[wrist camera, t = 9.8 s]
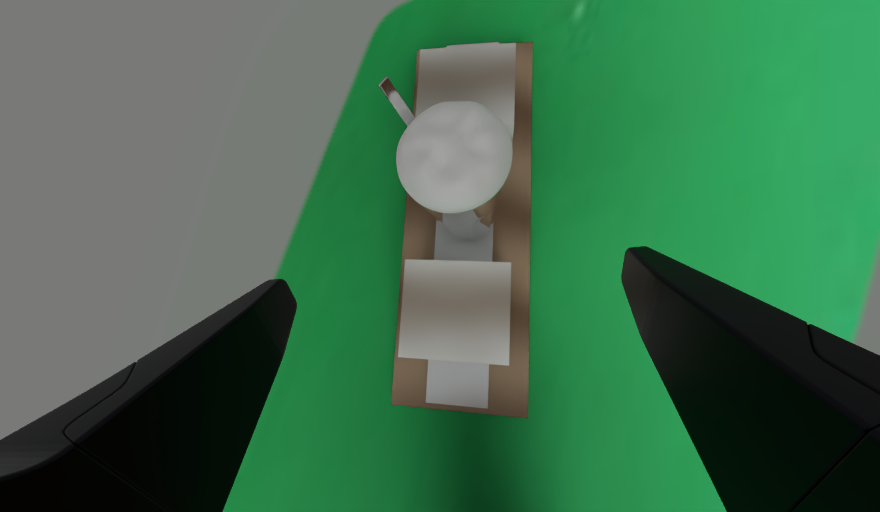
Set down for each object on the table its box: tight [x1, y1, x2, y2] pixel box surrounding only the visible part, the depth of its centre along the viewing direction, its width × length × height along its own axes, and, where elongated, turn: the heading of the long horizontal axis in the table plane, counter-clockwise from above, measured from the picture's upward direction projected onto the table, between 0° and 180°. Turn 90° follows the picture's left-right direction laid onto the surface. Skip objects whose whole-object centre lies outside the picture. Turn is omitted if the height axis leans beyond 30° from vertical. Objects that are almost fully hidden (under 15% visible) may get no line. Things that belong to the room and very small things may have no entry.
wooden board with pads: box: [391, 42, 533, 418], centre depth 21 cm, size 24×8×5 cm, turn 177°
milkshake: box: [379, 77, 513, 240], centre depth 17 cm, size 4×5×10 cm
